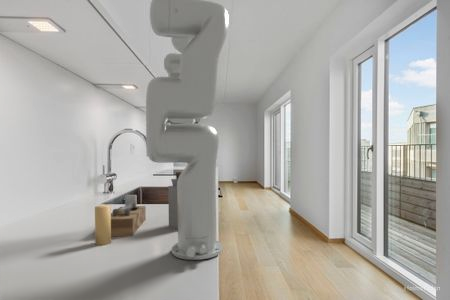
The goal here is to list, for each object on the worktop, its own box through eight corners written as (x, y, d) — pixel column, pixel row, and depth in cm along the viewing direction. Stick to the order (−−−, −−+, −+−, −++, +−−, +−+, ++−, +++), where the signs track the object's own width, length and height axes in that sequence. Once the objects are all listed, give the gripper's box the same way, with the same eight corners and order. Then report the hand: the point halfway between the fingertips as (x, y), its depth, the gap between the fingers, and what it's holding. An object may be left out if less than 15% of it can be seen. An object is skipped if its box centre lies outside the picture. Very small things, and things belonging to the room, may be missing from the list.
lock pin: (128, 214, 90) (128, 200, 90) (116, 214, 89) (116, 200, 89) (136, 206, 102) (136, 194, 102) (126, 207, 101) (126, 195, 101)
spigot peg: (108, 244, 75) (107, 207, 75) (92, 245, 75) (92, 208, 75) (112, 240, 79) (112, 205, 79) (98, 240, 79) (97, 205, 79)
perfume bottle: (197, 224, 95) (196, 171, 95) (184, 229, 89) (183, 173, 89) (182, 222, 99) (181, 171, 99) (168, 226, 93) (168, 172, 93)
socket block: (132, 235, 84) (132, 212, 84) (101, 236, 83) (101, 213, 83) (145, 219, 104) (145, 200, 104) (120, 220, 103) (120, 201, 103)
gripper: (159, 89, 99) (160, 138, 99) (203, 94, 108) (204, 138, 108) (153, 93, 105) (153, 139, 105) (194, 98, 114) (195, 139, 114)
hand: (179, 139), depth 106 cm, fingers open, 9 cm apart
